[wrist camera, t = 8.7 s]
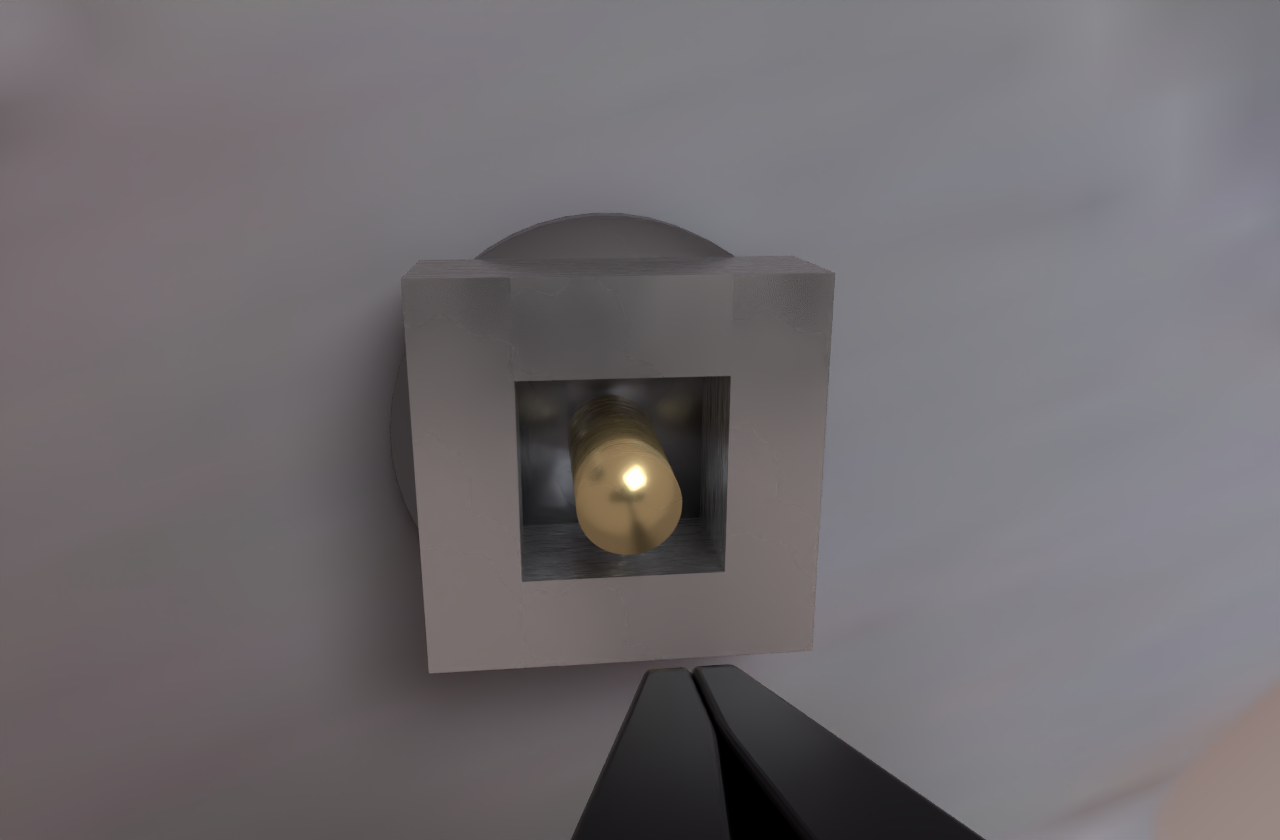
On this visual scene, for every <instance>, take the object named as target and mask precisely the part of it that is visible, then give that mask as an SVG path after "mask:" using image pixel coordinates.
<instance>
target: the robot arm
mask: <svg viewBox="0 0 1280 840" xmlns="http://www.w3.org/2000/svg"><path fill="white" fill-rule="evenodd" d="M571 840H985V839H984V838H982V837H981V836H980V835H978V834H977V833H975V832H974V831H972V830H971V829H969V828H968V827H967V826H965V825H964V824H962V823H961V822H959V821H958V820H957V819H955V818H954V817H952V816H951V815H949V814H948V813H946V812H945V811H944V810H942V809H941V808H939V807H938V806H936V805H935V804H933V803H932V802H931V801H929V800H928V799H926V798H925V797H923V796H922V795H921V794H919V793H918V792H916V791H915V790H913V789H912V788H910V787H909V786H908V785H906V784H905V783H903V782H902V781H900V780H899V779H897V778H896V777H895V776H893V775H892V774H890V773H889V772H887V771H886V770H885V769H883V768H882V767H880V766H879V765H877V764H876V763H874V762H873V761H872V760H870V759H869V758H867V757H866V756H864V755H863V754H861V753H860V752H859V751H857V750H856V749H854V748H853V747H851V746H850V745H848V744H847V743H846V742H844V741H843V740H841V739H840V738H838V737H837V736H836V735H834V734H833V733H831V732H830V731H828V730H827V729H825V728H824V727H823V726H821V725H820V724H818V723H817V722H815V721H814V720H812V719H811V718H810V717H808V716H807V715H805V714H804V713H802V712H801V711H800V710H798V709H797V708H795V707H794V706H792V705H791V704H789V703H788V702H787V701H785V700H784V699H782V698H781V697H779V696H778V695H776V694H775V693H774V692H772V691H771V690H769V689H768V688H766V687H765V686H763V685H762V684H761V683H759V682H758V681H756V680H755V679H753V678H752V677H751V676H749V675H748V674H746V673H745V672H743V671H742V670H740V669H739V668H737V667H736V666H734V665H728V664H727V665H712V666H698V667H695V668H694V669H693V670H692V671H691V673H690V672H689V671H688V670H687V669H686V668H682V667H681V668H665V669H651V670H648V671H647V672H646V673H645V674H644V676H643V678H642V680H641V683H640V685H639V687H638V689H637V692H636V694H635V696H634V698H633V701H632V703H631V705H630V707H629V710H628V712H627V714H626V716H625V719H624V721H623V723H622V725H621V728H620V730H619V732H618V734H617V737H616V739H615V741H614V744H613V746H612V748H611V750H610V753H609V755H608V757H607V759H606V762H605V764H604V766H603V768H602V771H601V773H600V775H599V777H598V780H597V782H596V784H595V786H594V789H593V791H592V793H591V795H590V798H589V800H588V802H587V804H586V807H585V809H584V811H583V814H582V816H581V818H580V820H579V823H578V825H577V827H576V829H575V832H574V834H573V836H572V838H571Z"/></svg>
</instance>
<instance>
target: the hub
mask: <svg viewBox="0 0 1280 840" xmlns="http://www.w3.org/2000/svg"><path fill="white" fill-rule="evenodd" d="M661 257H735V256H733V255H732V254H730V253H728V252H727V251H725V250H724V249H722V248H720V247H719V246H717V245H715V244H714V243H712V242H710V241H708V240H706V239H704V238H702V237H700V236H698V235H696V234H694V233H692V232H689V231H687V230H685V229H683V228H680V227H678V226H676V225H673V224H669V223H666V222H662V221H659V220H656V219H652V218H648V217H642V216H635V215H628V214H622V213H590V214H582V215H574V216H565V217H562V218H558V219H554V220H550V221H546V222H542V223H538V224H536V225H534V226H531V227H529V228H526V229H524V230H521V231H519V232H516V233H514V234H512V235H510V236H508V237H507V238H505V239H503V240H501V241H500V242H498V243H496V244H494V245H493V246H491V247H489V248H488V249H486V250H485V251H484V252H482V253H481V254H480V255H478V256H477V257H476V258H475V259H473V260H477V259H569V258H661ZM702 399H703V377H665V378H625V379H586V380H546V381H518V403H519V430H520V458H521V485H522V512H523V525H541V524H564V523H579V524H580V526H581V529H582V530H583V532H584V533H585V535H586V536H587V537H588V538H589V540H591V541H592V542H593V543H594V544H595V545H597V546H598V547H600V548H602V549H604V550H605V551H608V552H611V553H615V554H621V555H633V554H639V553H643V552H646V551H649V550H651V549H653V548H655V547H657V546H658V545H660V544H661V543H663V542H664V541H665V540H666V539H667V538H668V537H669V536H670V535H671V533H672V532H673V531H674V529H675V528H676V526H677V524H678V522H679V519H683V518H700V491H701V445H702ZM390 433H391V451H392V458H393V463H394V468H395V473H396V478H397V482H398V484H399V487H400V490H401V493H402V496H403V499H404V502H405V504H406V507H407V509H408V511H409V513H410V515H411V517H412V519H413V520H414V522H415V524H416V526H417V528H418V530H419V527H418V513H417V499H416V485H415V471H414V456H413V442H412V428H411V414H410V400H409V386H408V372H407V358H406V352H405V355H404V358H403V360H402V363H401V366H400V368H399V371H398V375H397V380H396V384H395V389H394V393H393V397H392V409H391V421H390Z"/></svg>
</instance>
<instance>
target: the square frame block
mask: <svg viewBox="0 0 1280 840" xmlns="http://www.w3.org/2000/svg"><path fill="white" fill-rule="evenodd" d="M834 284H835V273H834V272H831V271H829V270H826V269H824V268H821V267H819V266H817V265H814V264H812V263H809V262H807V261H804V260H802V259H799V258H797V257H794V256H752V257H661V258H569V259H477V260H419V261H418V262H417V263H416V264H415V265H414V266H413V267H412V268H411V269H410V270H409V271H408V272H407V273H406V274H405V275H404V276H403V277H402V278H401V288H402V302H403V316H404V330H405V344H406V358H407V372H408V386H409V400H410V414H411V428H412V442H413V456H414V471H415V485H416V499H417V513H418V527H419V541H420V555H421V569H422V583H423V597H424V611H425V625H426V639H427V653H428V668H429V673H446V672H462V671H479V670H496V669H513V668H530V667H547V666H564V665H581V664H598V663H615V662H632V661H648V660H665V659H682V658H699V657H716V656H733V655H750V654H767V653H784V652H801V651H812V643H813V627H814V610H815V594H816V578H817V561H818V545H819V529H820V512H821V496H822V480H823V463H824V447H825V431H826V414H827V398H828V382H829V365H830V349H831V333H832V316H833V300H834ZM665 377H703V399H702V445H701V491H700V518H683V519H679V522H678V524H677V526H676V528H675V529H674V531H673V532H672V533H671V535H670V536H669V537H668V538H667V539H666V540H665V541H664V542H663V543H661V544H660V545H658V546H657V547H655V548H653V549H651V550H649V551H646V552H643V553H639V554H633V555H621V554H615V553H611V552H608V551H605V550H604V549H602V548H600V547H598V546H597V545H595V544H594V543H593V542H592V541H591V540H589V538H588V537H587V536H586V535H585V533H584V532H583V530H582V529H581V526H580V524H579V523H564V524H541V525H523V512H522V485H521V458H520V430H519V403H518V381H546V380H586V379H625V378H665Z"/></svg>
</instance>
